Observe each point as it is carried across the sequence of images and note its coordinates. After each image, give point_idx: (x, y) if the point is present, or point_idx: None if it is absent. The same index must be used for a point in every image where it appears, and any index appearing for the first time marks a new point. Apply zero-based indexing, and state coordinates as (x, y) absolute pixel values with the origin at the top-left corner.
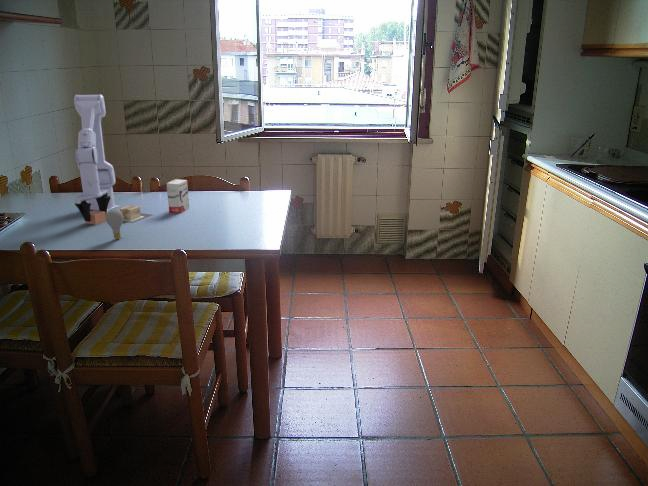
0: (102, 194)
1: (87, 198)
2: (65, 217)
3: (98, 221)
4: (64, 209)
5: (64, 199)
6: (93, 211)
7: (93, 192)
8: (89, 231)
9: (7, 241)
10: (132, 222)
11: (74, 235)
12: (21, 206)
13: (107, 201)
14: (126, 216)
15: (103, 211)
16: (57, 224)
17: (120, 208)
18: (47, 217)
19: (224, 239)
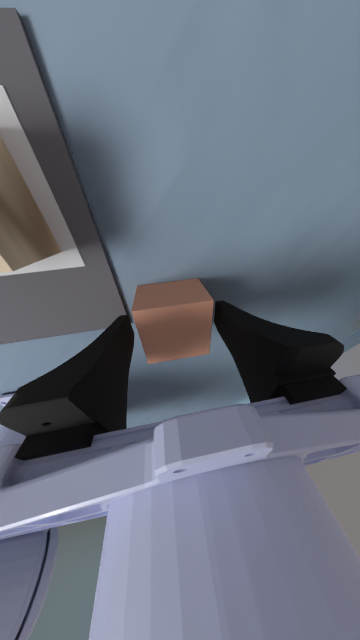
0: (103, 461)
1: (333, 414)
2: (175, 396)
3: (186, 285)
4: None
5: None
6: (164, 354)
7: (321, 539)
8: (282, 224)
9: (356, 343)
10: (4, 33)
11: (338, 236)
12: None
13: (74, 368)
14: (11, 188)
15: (135, 322)
16: (226, 369)
17: (1, 267)
18: (191, 410)
19: None
